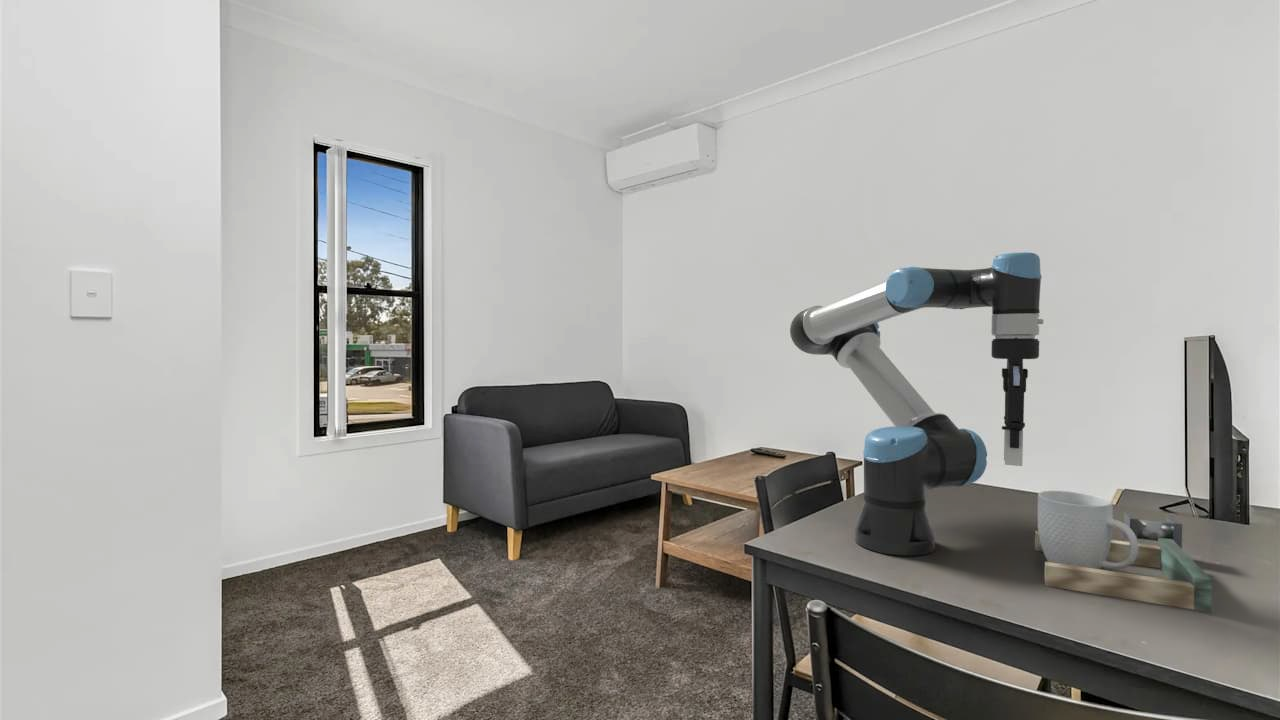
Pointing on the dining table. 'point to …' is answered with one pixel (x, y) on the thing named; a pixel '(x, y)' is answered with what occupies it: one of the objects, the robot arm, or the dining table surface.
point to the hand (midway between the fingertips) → (1012, 462)
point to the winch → (1154, 529)
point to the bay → (1139, 576)
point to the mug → (1079, 529)
